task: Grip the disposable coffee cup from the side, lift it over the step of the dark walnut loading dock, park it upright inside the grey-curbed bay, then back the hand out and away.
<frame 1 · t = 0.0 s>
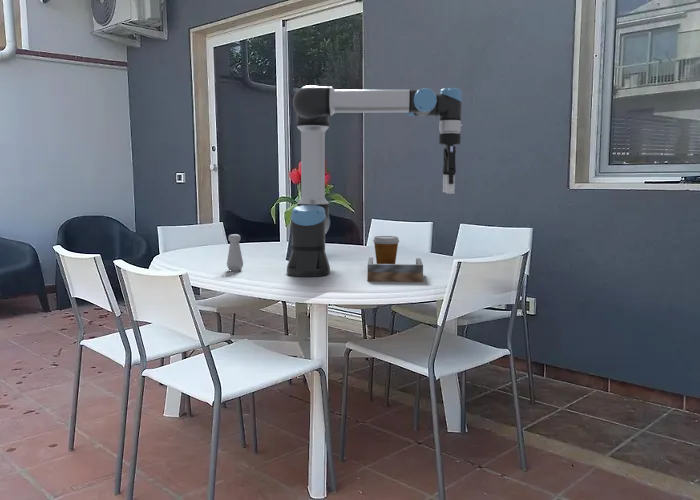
hand: (448, 193, 217), 28 cm above the table, tool pointing down, fingers open, 13 cm apart
disposable coffee cup: (385, 270, 219), on the table
salt shaker: (235, 271, 216), on the table
dock: (394, 277, 203), on the table
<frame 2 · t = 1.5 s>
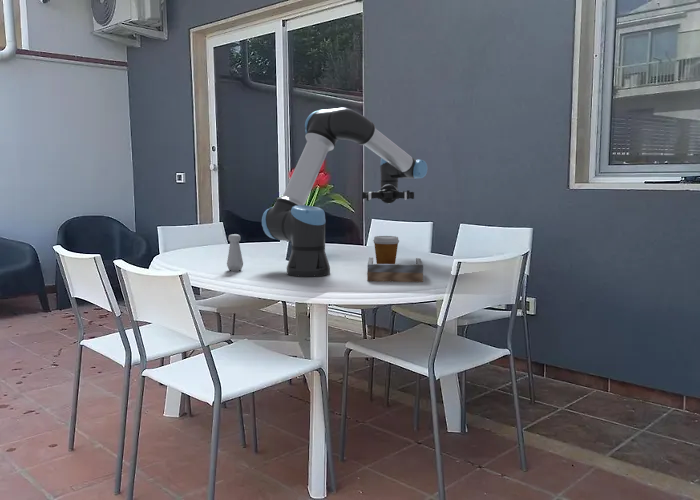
hand: (387, 196, 226), 26 cm above the table, tool horizontal, fingers open, 13 cm apart
nothing on the table moved.
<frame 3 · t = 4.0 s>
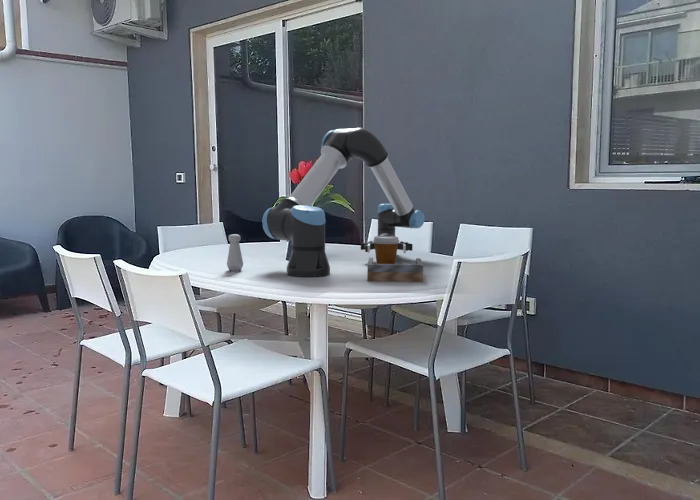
hand: (386, 249, 227), 6 cm above the table, tool horizontal, fingers open, 13 cm apart
nothing on the table moved.
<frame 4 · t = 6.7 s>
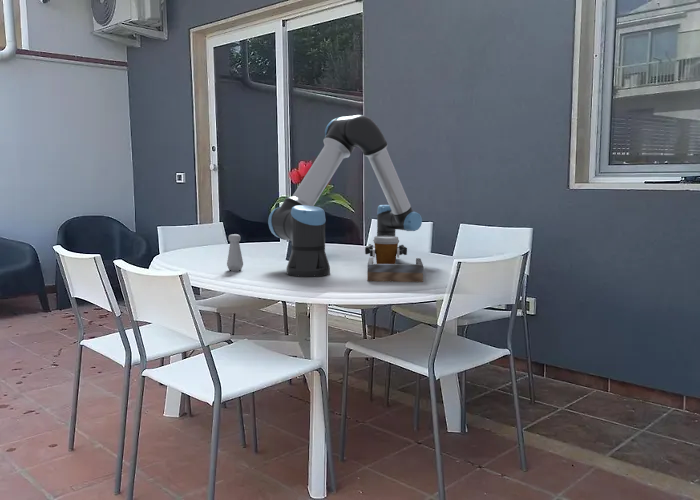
hand: (386, 253, 214), 7 cm above the table, tool horizontal, fingers closed on disposable coffee cup, 8 cm apart
disposable coffee cup: (385, 270, 219), on the table, touching gripper
everything else where it was.
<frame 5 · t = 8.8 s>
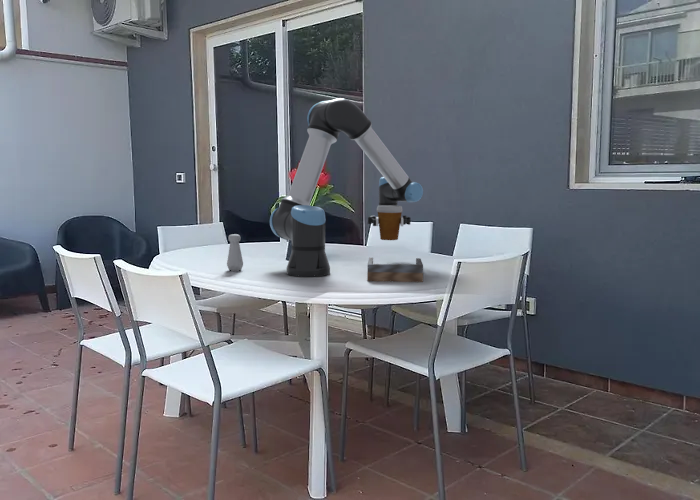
hand: (389, 222, 210), 18 cm above the table, tool horizontal, fingers closed on disposable coffee cup, 8 cm apart
disposable coffee cup: (389, 239, 216), point 11 cm above the table, touching gripper
everything else where it was.
when the fingers open (11 cm above the table, at t = 11.3 s): disposable coffee cup drops 1 cm, resting on dock.
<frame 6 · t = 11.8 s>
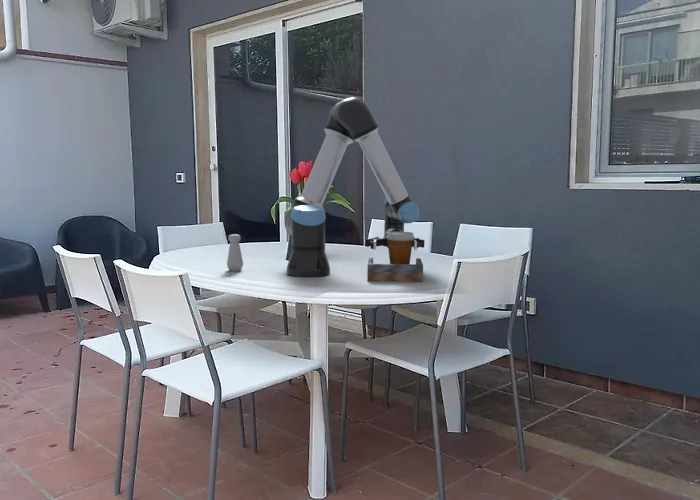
hand: (395, 246, 199), 11 cm above the table, tool horizontal, fingers open, 13 cm apart
disposable coffee cup: (399, 268, 204), point 3 cm above the table, touching dock
everything else where it was.
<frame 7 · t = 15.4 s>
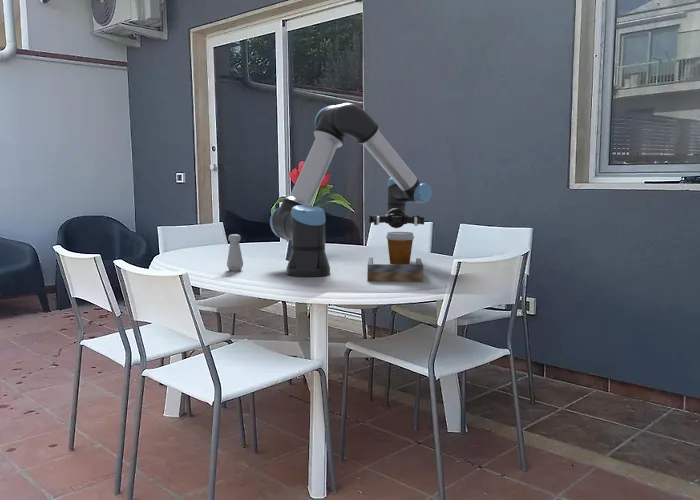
hand: (396, 221, 214), 18 cm above the table, tool horizontal, fingers open, 13 cm apart
nothing on the table moved.
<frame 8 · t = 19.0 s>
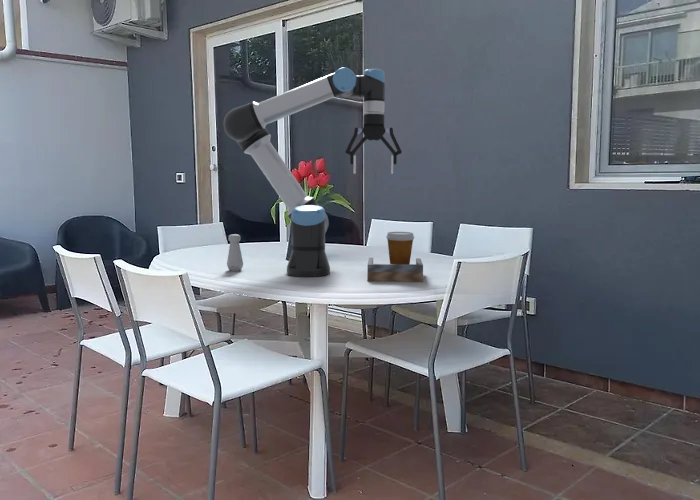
hand: (373, 173, 218), 35 cm above the table, tool pointing down, fingers open, 13 cm apart
nothing on the table moved.
at the end: disposable coffee cup inside the target area on the dock (1.7 cm from its centre), point 2.8 cm above the dock's base; disposable coffee cup tilted 0°; the gripper is holding nothing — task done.
